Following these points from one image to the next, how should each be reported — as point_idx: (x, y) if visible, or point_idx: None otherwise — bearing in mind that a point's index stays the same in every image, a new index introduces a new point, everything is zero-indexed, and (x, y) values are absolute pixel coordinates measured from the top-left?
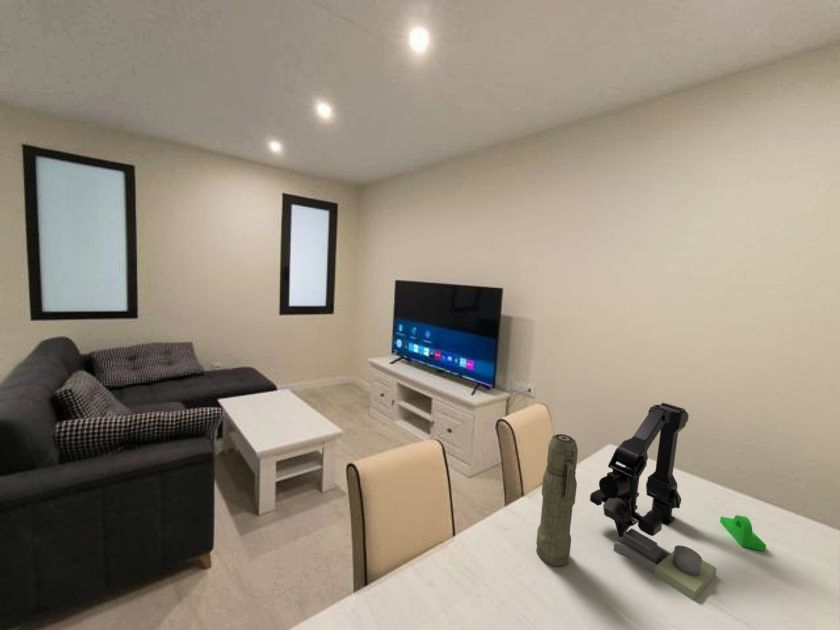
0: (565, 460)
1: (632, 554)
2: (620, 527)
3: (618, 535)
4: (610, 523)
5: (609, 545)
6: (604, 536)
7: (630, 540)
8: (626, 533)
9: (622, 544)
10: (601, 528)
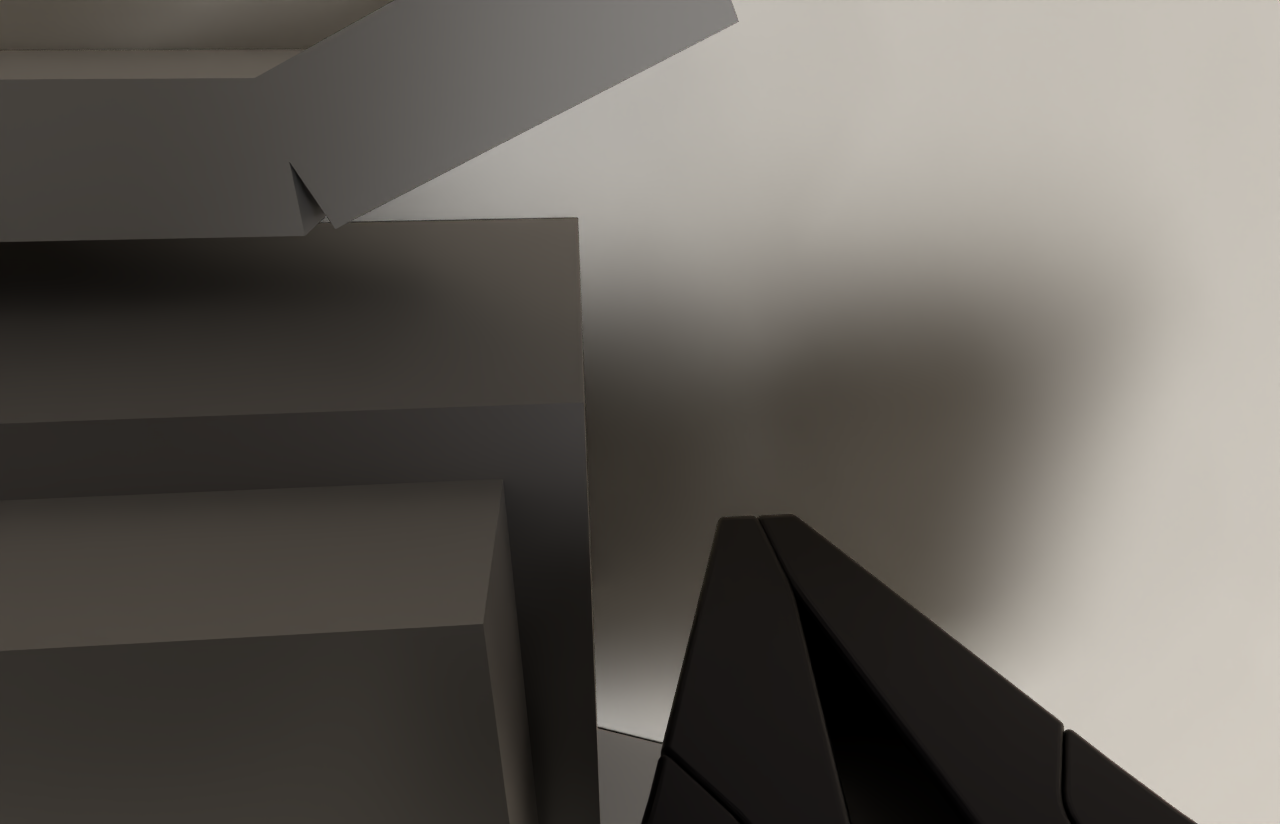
0: None
1: (4, 64)
2: (868, 774)
3: (800, 519)
4: None
5: (828, 43)
6: (1053, 289)
7: (194, 470)
8: (397, 637)
9: (430, 126)
10: (1179, 486)
